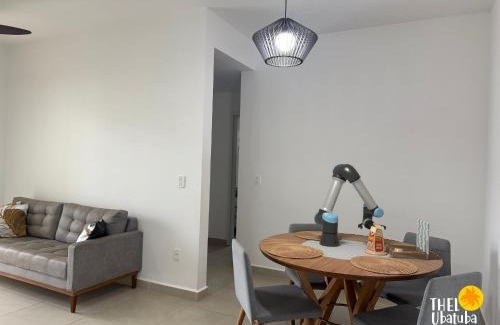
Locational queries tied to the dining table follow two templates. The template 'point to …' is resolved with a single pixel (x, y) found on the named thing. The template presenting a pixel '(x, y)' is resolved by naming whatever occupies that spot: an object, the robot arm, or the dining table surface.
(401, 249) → the peach rounded knob
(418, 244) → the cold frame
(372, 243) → the milk carton
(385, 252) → the tan round dome
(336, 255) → the dining table surface
